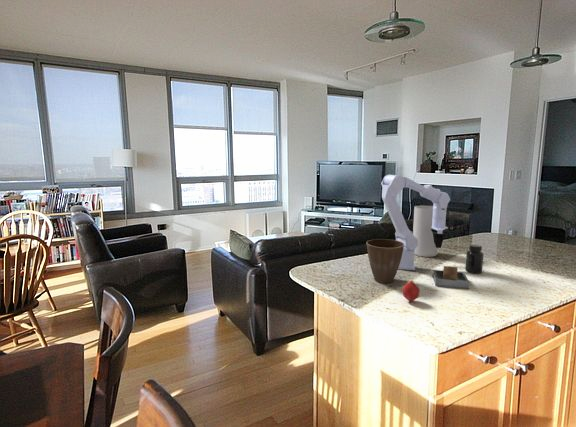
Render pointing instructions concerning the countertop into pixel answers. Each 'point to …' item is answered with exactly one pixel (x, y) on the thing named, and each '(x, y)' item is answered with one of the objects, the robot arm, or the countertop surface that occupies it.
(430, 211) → the cylinder vase
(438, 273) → the square metal tray
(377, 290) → the countertop surface
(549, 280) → the countertop surface
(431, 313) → the countertop surface
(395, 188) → the robot arm
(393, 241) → the plant pot
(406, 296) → the onion
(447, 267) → the tan wooden brick
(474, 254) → the supplement bottle
